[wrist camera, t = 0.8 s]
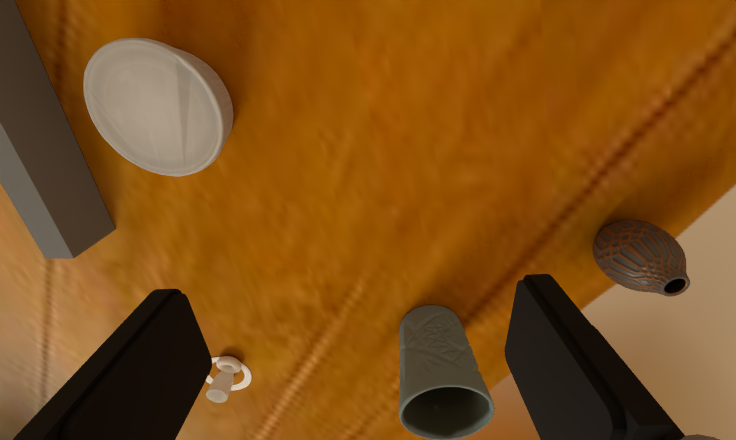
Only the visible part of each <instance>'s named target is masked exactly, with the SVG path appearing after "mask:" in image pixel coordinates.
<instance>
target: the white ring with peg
mask: <svg viewBox="0 0 736 440" xmlns="http://www.w3.org/2000/svg"><path fill="white" fill-rule="evenodd" d="M214 362H217V363H216V365H217V367H218V368H219V369H220V370H221V371H220V372H219V373H218V374H217V376H216V377H215V378H214V380H213V379H212V378H211V377H210V376H209V375H208V377H207V379H206V381H207V382H208V383H209V384H211V385H210V387H209V389H208V390H207V392H206V397H207V398H208V399H209V400H211V401H213V402H217V403H222V402H225V401H226V400H227V398H228V396H229V393H230V390H239V389H243V388H245V387H247V386H248V385H249V384H250V382H251V380H252V375H251V372H250V370H249V369H248V368H247V367H246V366H245V365H244V364H243V363H241V362H240V361H239V360H238V359H236V358H234V357H231V356H223V357H213V358H212V363H214ZM241 369H242V370H243V372H244V374H245V378H244V380H243V381H242V382H241V383H239V384H236V385H232V384H233V381H234V373H238V372H239V371H240V370H241Z"/></svg>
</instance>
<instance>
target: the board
mask: <svg viewBox="0 0 736 440" xmlns="http://www.w3.org/2000/svg"><path fill="white" fill-rule="evenodd" d="M0 183H1V184H2V186H3V188H4V189H5V191H6V193H7V194H8V196H9V198H10V199H11V201H12V203H13V205H14V206H15V208H16V210H17V211H18V213H19V215H20V216H21V218H22V220H23V221H24V223H25V225H26V227H27V228H28V230H29V232H30V233H31V235H32V237H33V238H34V240H35V242H36V243H37V245H38V247H39V249H40V250H41V252H42V254H43V255H44V257H45V258H75V257H76V256H78V255H79V254H81V253H82V252H84V251H85V250H87V249H88V248H89V247H91V246H92V245H94V244H95V243H97V242H98V241H100V240H101V239H102V238H104V237H105V236H107V235H108V234H110V233H111V232H112V231H114V230H115V227H114V224H113V222H112V220H111V218H110V215H109V213H108V211H107V208H106V206H105V204H104V202H103V199H102V197H101V195H100V193H99V190H98V188H97V186H96V184H95V181H94V179H93V177H92V175H91V172H90V170H89V168H88V165H87V163H86V161H85V159H84V156H83V154H82V152H81V150H80V147H79V145H78V143H77V141H76V138H75V136H74V134H73V132H72V129H71V127H70V125H69V122H68V120H67V118H66V116H65V113H64V111H63V109H62V107H61V104H60V102H59V100H58V98H57V95H56V93H55V91H54V89H53V86H52V84H51V82H50V79H49V77H48V75H47V73H46V70H45V68H44V66H43V64H42V61H41V59H40V57H39V55H38V52H37V50H36V48H35V46H34V43H33V41H32V39H31V37H30V34H29V32H28V30H27V27H26V25H25V23H24V21H23V18H22V16H21V14H20V12H19V9H18V7H17V5H16V3H15V0H0Z"/></svg>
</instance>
